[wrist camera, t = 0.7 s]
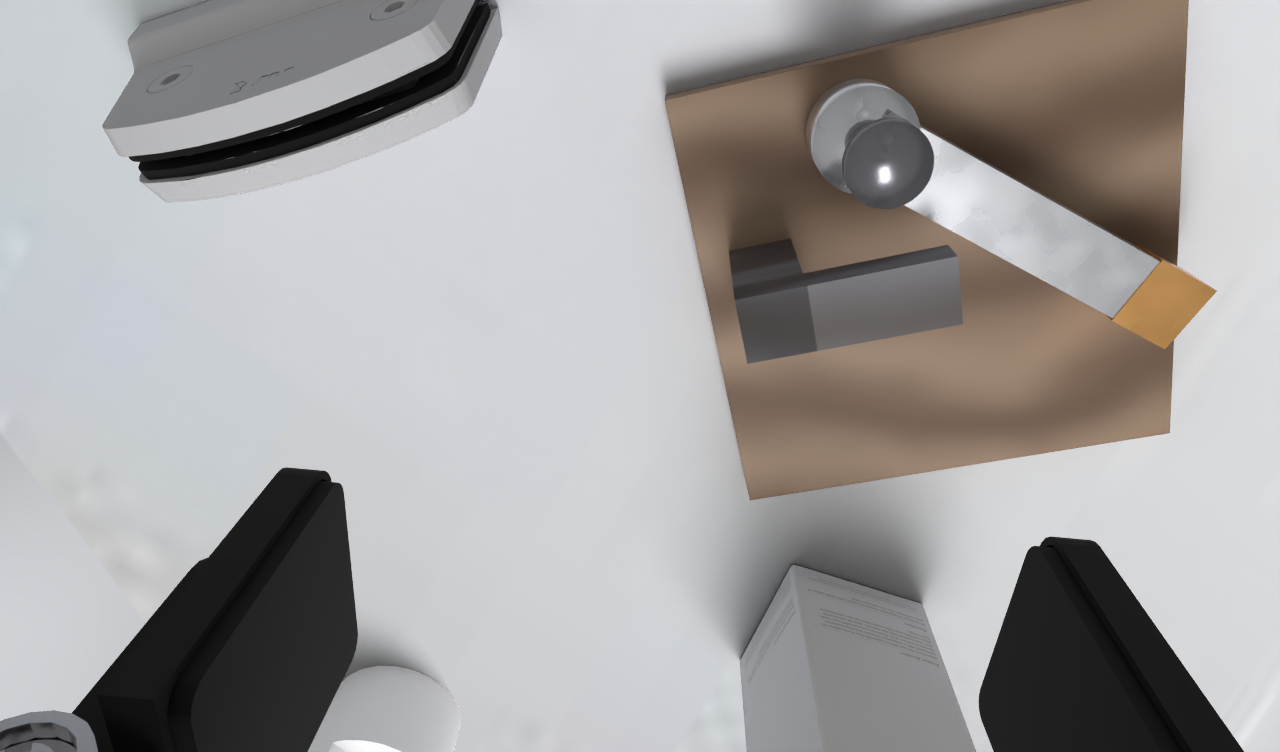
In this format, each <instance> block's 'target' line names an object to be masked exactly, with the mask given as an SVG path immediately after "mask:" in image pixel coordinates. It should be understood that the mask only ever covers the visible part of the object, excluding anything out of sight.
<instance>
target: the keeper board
mask: <svg viewBox="0 0 1280 752" xmlns="http://www.w3.org/2000/svg"><path fill="white" fill-rule="evenodd" d="M1188 2H1189V0H1069V1H1065V2H1060V3H1056V4H1052V5H1048V6H1044V7H1039V8H1035V9H1031V10H1027V11H1022V12H1018V13H1014V14H1010V15H1005V16H1001V17H997V18H993V19H988V20H984V21H980V22H976V23H972V24H967V25H963V26H959V27H955V28H950V29H946V30H942V31H938V32H933V33H929V34H925V35H921V36H917V37H912V38H908V39H904V40H900V41H895V42H891V43H887V44H883V45H878V46H874V47H870V48H866V49H862V50H857V51H853V52H849V53H845V54H840V55H836V56H832V57H828V58H823V59H819V60H815V61H811V62H807V63H802V64H798V65H794V66H790V67H785V68H781V69H777V70H773V71H768V72H764V73H760V74H756V75H751V76H747V77H743V78H739V79H735V80H730V81H726V82H722V83H718V84H713V85H709V86H705V87H701V88H696V89H692V90H688V91H684V92H680V93H675V94H671V95H667V96H666V97H665V104H666V109H667V113H668V118H669V123H670V127H671V132H672V137H673V141H674V146H675V151H676V156H677V160H678V165H679V170H680V174H681V179H682V184H683V188H684V193H685V198H686V202H687V207H688V212H689V217H690V221H691V226H692V231H693V235H694V240H695V245H696V249H697V254H698V259H699V264H700V268H701V273H702V278H703V282H704V287H705V292H706V296H707V301H708V306H709V311H710V315H711V320H712V325H713V329H714V334H715V339H716V343H717V348H718V353H719V357H720V362H721V367H722V372H723V376H724V381H725V386H726V390H727V395H728V400H729V404H730V409H731V414H732V419H733V423H734V428H735V433H736V437H737V442H738V447H739V451H740V456H741V461H742V466H743V470H744V475H745V480H746V484H747V489H748V494H749V498H750V500H755V499H761V498H767V497H774V496H780V495H786V494H792V493H799V492H805V491H811V490H817V489H824V488H830V487H836V486H842V485H848V484H855V483H861V482H867V481H873V480H880V479H886V478H892V477H898V476H905V475H911V474H917V473H923V472H930V471H936V470H942V469H948V468H955V467H961V466H967V465H973V464H980V463H986V462H992V461H998V460H1005V459H1011V458H1017V457H1023V456H1030V455H1036V454H1042V453H1048V452H1054V451H1061V450H1067V449H1073V448H1079V447H1086V446H1092V445H1098V444H1104V443H1111V442H1117V441H1123V440H1129V439H1136V438H1142V437H1148V436H1154V435H1161V434H1167V433H1170V414H1171V391H1172V368H1173V346H1174V340H1173V341H1172V342H1171V343H1170V344H1169V345H1168V347H1167V348H1166V349H1163V348H1161V347H1160V346H1158V345H1156V344H1154V343H1152V342H1150V341H1148V340H1147V339H1145V338H1143V337H1141V336H1139V335H1137V334H1136V333H1134V332H1132V331H1130V330H1128V329H1126V328H1124V327H1123V326H1121V325H1119V324H1117V323H1115V322H1113V321H1112V320H1110V319H1109V318H1108V317H1107V316H1106V315H1105V314H1104V313H1102V312H1100V311H1098V310H1096V309H1095V308H1093V307H1091V306H1089V305H1087V304H1085V303H1084V302H1082V301H1080V300H1078V299H1076V298H1074V297H1072V296H1071V295H1069V294H1067V293H1065V292H1063V291H1061V290H1060V289H1058V288H1056V287H1054V286H1052V285H1050V284H1048V283H1047V282H1045V281H1043V280H1041V279H1039V278H1037V277H1036V276H1034V275H1032V274H1030V273H1028V272H1026V271H1024V270H1023V269H1021V268H1019V267H1017V266H1015V265H1013V264H1012V263H1010V262H1008V261H1006V260H1004V259H1002V258H1001V257H999V256H997V255H995V254H993V253H991V252H989V251H988V250H986V249H984V248H982V247H980V246H978V245H977V244H975V243H973V242H971V241H969V240H967V239H965V238H964V237H962V236H960V235H958V234H956V233H954V232H953V231H951V230H949V229H947V228H945V227H943V226H942V225H940V224H938V223H936V222H934V221H932V220H930V219H929V218H927V217H925V216H923V215H921V214H919V213H918V212H916V211H914V210H912V209H910V208H908V207H906V206H905V205H903V206H900V207H897V208H893V209H877V208H873V207H869V206H867V205H865V204H863V203H862V202H860V201H859V200H858V199H857V198H856V197H855V196H854V195H853V194H852V193H847V192H844V191H842V190H839V189H837V188H836V187H834V186H833V185H831V184H830V183H829V182H828V181H827V180H826V179H825V178H824V177H823V176H822V174H821V173H820V171H819V170H818V168H817V166H816V165H815V163H814V161H813V159H812V158H811V156H810V154H809V151H808V148H807V144H806V125H807V121H808V118H809V115H810V112H811V110H812V108H813V107H814V105H815V104H816V102H817V101H818V99H819V98H820V97H821V96H822V95H823V94H824V93H825V92H826V91H827V90H829V89H830V88H832V87H833V86H835V85H837V84H839V83H841V82H844V81H847V80H850V79H857V78H866V79H873V80H876V81H879V82H881V83H883V84H885V85H887V86H888V87H890V88H891V89H893V90H894V91H896V92H897V93H899V94H900V95H902V96H903V97H904V98H905V99H906V100H907V101H908V102H909V103H910V104H911V105H912V107H913V108H914V110H915V112H916V114H917V116H918V119H919V123H920V125H922V126H924V127H926V128H927V129H929V130H931V131H933V132H935V133H936V134H938V135H940V136H942V137H943V138H945V139H947V140H949V141H951V142H952V143H954V144H956V145H958V146H959V147H961V148H963V149H965V150H967V151H968V152H970V153H972V154H974V155H975V156H977V157H979V158H981V159H983V160H984V161H986V162H988V163H990V164H991V165H993V166H995V167H997V168H999V169H1000V170H1002V171H1004V172H1006V173H1007V174H1009V175H1011V176H1013V177H1015V178H1016V179H1018V180H1020V181H1022V182H1023V183H1025V184H1027V185H1029V186H1031V187H1032V188H1034V189H1036V190H1038V191H1040V192H1041V193H1043V194H1045V195H1047V196H1048V197H1050V198H1052V199H1054V200H1056V201H1057V202H1059V203H1061V204H1063V205H1064V206H1066V207H1068V208H1070V209H1072V210H1073V211H1075V212H1077V213H1079V214H1080V215H1082V216H1084V217H1086V218H1088V219H1089V220H1091V221H1093V222H1095V223H1096V224H1098V225H1100V226H1102V227H1104V228H1105V229H1107V230H1109V231H1111V232H1112V233H1114V234H1116V235H1118V236H1120V237H1121V238H1123V239H1125V240H1127V241H1128V242H1130V243H1132V244H1133V243H1134V242H1135V243H1137V244H1139V245H1140V246H1142V247H1144V248H1146V249H1148V250H1149V251H1151V252H1153V253H1155V254H1156V255H1158V256H1160V257H1162V258H1164V259H1165V260H1167V261H1169V262H1171V263H1172V264H1174V265H1176V266H1177V254H1178V231H1179V208H1180V185H1181V162H1182V139H1183V116H1184V94H1185V71H1186V48H1187V25H1188Z"/></svg>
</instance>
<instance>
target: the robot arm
mask: <svg viewBox="0 0 1280 752" xmlns="http://www.w3.org/2000/svg"><path fill="white" fill-rule="evenodd" d="M357 637H358V631H357V620H356V610H355V600H354V590H353V581H352V571H351V561H350V551H349V541H348V531H347V521H346V511H345V501H344V492H343V488H342V485H341V484H340V483H334V482H331V478H330V476H329V474H328V473H327V472H326V471H319V470H308V469H297V468H282V469H281V470H280V471H279V472H278V473H277V474H276V475H275V476H274V478H273V479H272V480H271V481H270V483H269V484H268V485H267V486H266V488H265V489H264V490H263V491H262V492H261V494H260V495H259V496H258V497H257V499H256V500H255V501H254V502H253V504H252V505H251V506H250V507H249V508H248V510H247V511H246V512H245V513H244V515H243V516H242V517H241V518H240V520H239V521H238V522H237V523H236V524H235V526H234V527H233V528H232V529H231V531H230V532H229V533H228V534H227V536H226V537H225V538H224V539H223V540H222V542H221V543H220V544H219V545H218V547H217V548H216V549H215V550H214V552H213V553H212V554H211V555H210V556H209V558H206V559H204V560H201V561H199V562H198V563H197V564H196V565H195V566H194V567H193V568H191V570H190V571H189V572H188V573H187V574H186V576H185V577H184V578H183V579H182V580H181V582H180V583H179V584H178V585H177V587H176V588H175V589H174V590H173V591H172V593H171V594H170V595H169V596H168V597H167V599H166V600H165V601H164V602H163V603H162V605H161V606H160V607H159V608H158V609H157V611H156V612H155V613H154V614H153V616H152V617H151V618H150V619H149V620H148V622H147V623H146V624H145V625H144V627H143V628H142V629H141V630H140V631H139V633H138V634H137V635H136V636H135V637H134V639H133V640H132V641H131V642H130V644H129V645H128V646H127V647H126V648H125V650H124V651H123V652H122V653H121V654H120V655H119V657H118V658H117V659H116V660H115V662H114V663H113V664H112V665H111V666H110V668H109V669H108V670H107V671H106V672H105V674H104V675H103V676H102V677H101V678H100V680H99V681H98V682H97V683H96V684H95V686H94V687H93V688H92V689H91V691H90V692H89V693H88V694H87V696H86V697H85V698H84V699H83V700H82V701H81V703H80V704H79V705H78V706H77V708H76V709H75V710H74V711H73V712H72V714H71V713H65V712H59V711H42V712H30V713H26V714H23V715H19V716H16V717H12V718H8V719H4V720H2V721H0V752H308V750H309V748H310V746H311V744H312V742H313V740H314V738H315V736H316V733H317V731H318V729H319V727H320V725H321V723H322V721H323V719H324V717H325V715H326V713H327V711H328V709H329V707H330V705H331V703H332V701H333V699H334V696H335V694H336V692H337V690H338V688H339V686H340V684H341V682H342V680H343V678H344V676H345V674H346V672H347V670H348V668H349V666H350V664H351V662H352V659H353V657H354V653H355V650H356V645H357ZM979 710H980V716H981V719H982V722H983V725H984V727H985V730H986V733H987V735H988V738H989V740H990V743H991V746H992V748H993V751H994V752H1244V751H1243V750H1242V748H1241V747H1240V745H1239V744H1238V742H1237V741H1236V740H1235V738H1234V737H1233V735H1232V734H1231V732H1230V731H1229V730H1228V728H1227V727H1226V725H1225V724H1224V722H1223V721H1222V720H1221V718H1220V717H1219V715H1218V714H1217V713H1216V711H1215V710H1214V708H1213V707H1212V705H1211V704H1210V703H1209V701H1208V700H1207V698H1206V697H1205V695H1204V694H1203V693H1202V691H1201V690H1200V688H1199V687H1198V685H1197V684H1196V683H1195V681H1194V680H1193V678H1192V677H1191V676H1190V674H1189V673H1188V671H1187V670H1186V668H1185V667H1184V666H1183V664H1182V663H1181V661H1180V660H1179V658H1178V657H1177V656H1176V654H1175V653H1174V651H1173V650H1172V648H1171V647H1170V646H1169V644H1168V643H1167V641H1166V640H1165V639H1164V637H1163V636H1162V634H1161V633H1160V631H1159V630H1158V629H1157V627H1156V626H1155V624H1154V623H1153V621H1152V620H1151V619H1150V617H1149V616H1148V614H1147V613H1146V611H1145V610H1144V609H1143V607H1142V606H1141V604H1140V603H1139V602H1138V600H1137V599H1136V597H1135V596H1134V594H1133V593H1132V592H1131V590H1130V589H1129V587H1128V586H1127V584H1126V583H1125V582H1124V580H1123V579H1122V577H1121V576H1120V574H1119V573H1118V572H1117V570H1116V569H1115V567H1114V566H1113V565H1112V563H1111V562H1110V560H1109V559H1108V557H1107V556H1106V555H1105V553H1104V552H1103V550H1102V549H1101V547H1100V546H1099V545H1098V544H1097V543H1096V542H1094V541H1091V540H1082V539H1071V538H1060V537H1048V538H1045V539H1044V541H1043V542H1042V543H1041V545H1040V546H1033V547H1031V548H1030V549H1029V550H1028V552H1027V554H1026V557H1025V560H1024V563H1023V566H1022V569H1021V572H1020V574H1019V577H1018V580H1017V583H1016V586H1015V589H1014V592H1013V595H1012V598H1011V601H1010V604H1009V607H1008V610H1007V613H1006V616H1005V619H1004V621H1003V624H1002V627H1001V630H1000V633H999V636H998V639H997V642H996V645H995V648H994V651H993V654H992V657H991V660H990V663H989V666H988V668H987V671H986V674H985V677H984V680H983V683H982V686H981V689H980V694H979Z"/></svg>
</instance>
